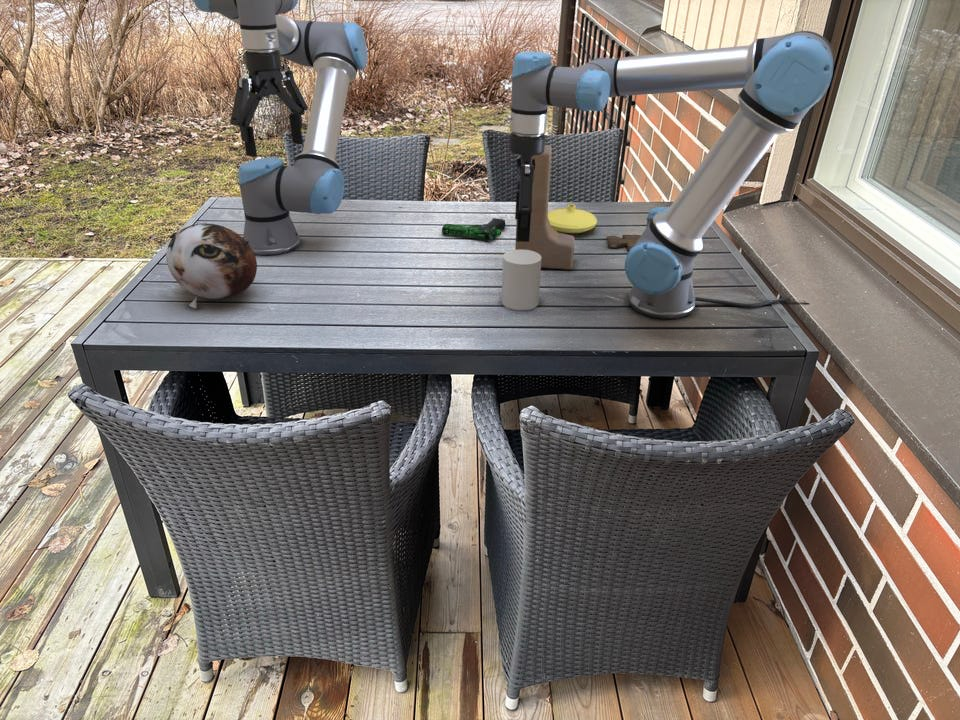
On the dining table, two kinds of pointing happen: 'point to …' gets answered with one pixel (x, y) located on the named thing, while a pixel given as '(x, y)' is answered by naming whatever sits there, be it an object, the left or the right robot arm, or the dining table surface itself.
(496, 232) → the handgun
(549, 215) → the yellow pot lid
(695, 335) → the dining table surface
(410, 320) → the dining table surface
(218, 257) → the cat face balloon
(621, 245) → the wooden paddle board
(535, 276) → the canister
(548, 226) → the decorative block
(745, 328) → the dining table surface
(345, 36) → the left robot arm
